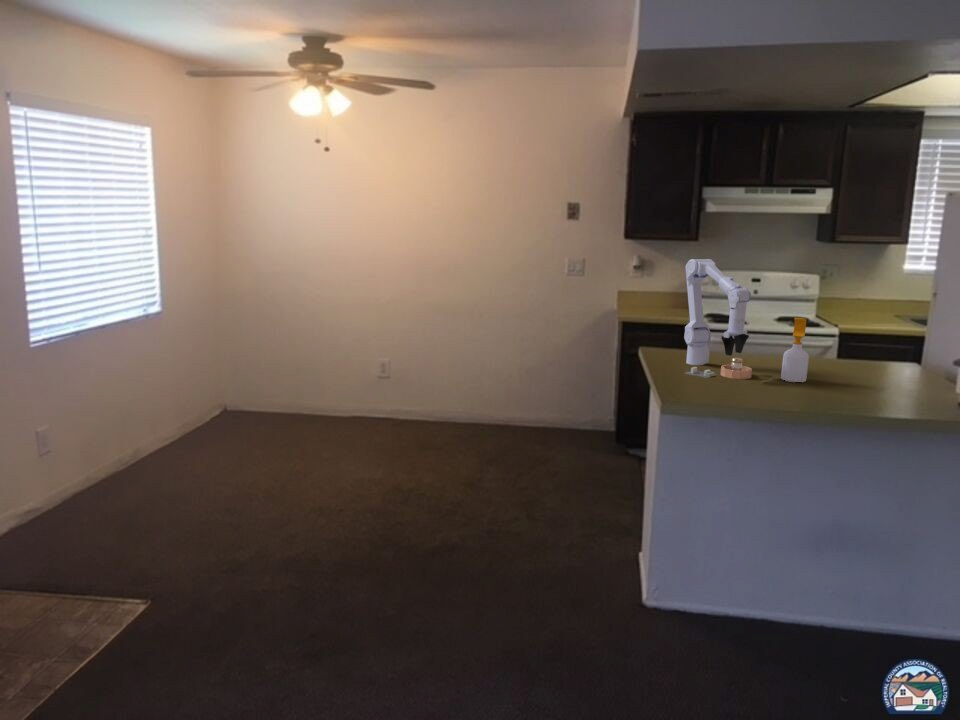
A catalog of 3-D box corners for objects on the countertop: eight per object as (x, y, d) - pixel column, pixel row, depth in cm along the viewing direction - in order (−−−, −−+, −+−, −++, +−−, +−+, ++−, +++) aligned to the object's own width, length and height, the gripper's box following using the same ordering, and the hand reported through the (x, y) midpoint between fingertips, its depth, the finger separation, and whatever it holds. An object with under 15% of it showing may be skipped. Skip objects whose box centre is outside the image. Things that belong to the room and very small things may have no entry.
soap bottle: (779, 381, 278) (786, 317, 273) (782, 376, 286) (789, 314, 281) (804, 384, 274) (812, 320, 269) (806, 379, 282) (814, 316, 277)
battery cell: (732, 374, 284) (734, 357, 283) (742, 376, 282) (744, 358, 280) (728, 376, 282) (729, 358, 280) (738, 378, 279) (739, 360, 277)
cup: (729, 373, 289) (730, 363, 289) (756, 378, 281) (757, 368, 281) (714, 377, 282) (715, 367, 281) (741, 382, 274) (742, 372, 273)
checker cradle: (694, 372, 289) (695, 365, 289) (717, 377, 282) (717, 369, 281) (683, 375, 284) (683, 368, 283) (706, 380, 277) (706, 372, 276)
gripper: (737, 322, 270) (733, 358, 273) (756, 318, 280) (752, 353, 283) (720, 320, 275) (716, 354, 278) (738, 316, 285) (735, 350, 288)
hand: (733, 353), depth 281 cm, fingers open, 7 cm apart
